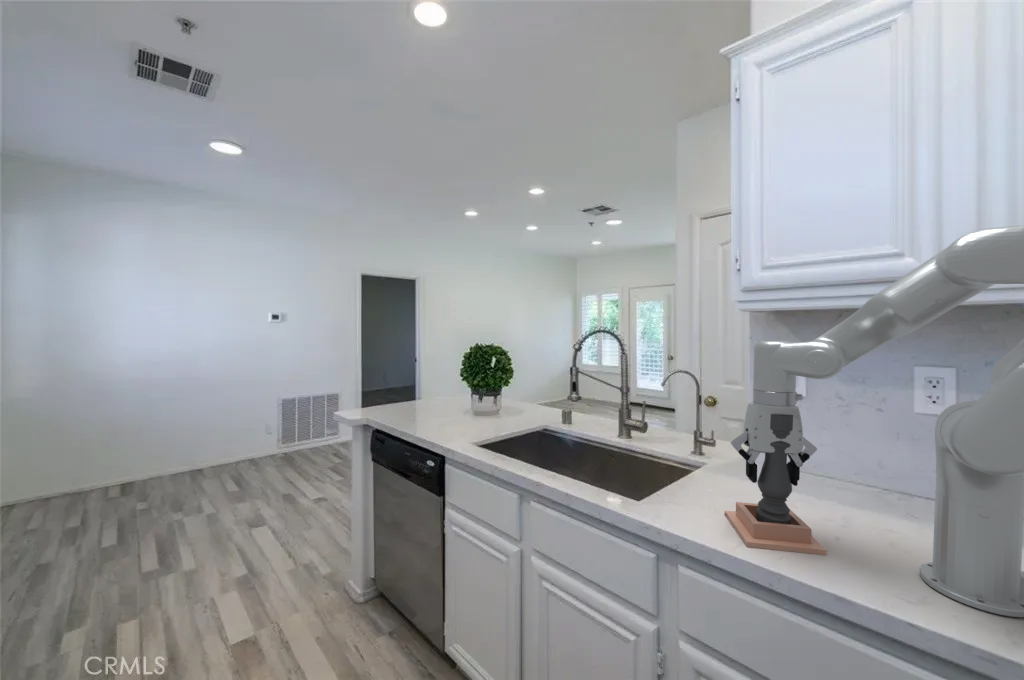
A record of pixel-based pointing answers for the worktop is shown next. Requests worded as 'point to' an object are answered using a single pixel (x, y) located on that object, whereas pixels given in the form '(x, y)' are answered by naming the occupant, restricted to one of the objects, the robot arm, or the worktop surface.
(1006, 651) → the worktop surface
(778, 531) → the square tray
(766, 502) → the candle holder
